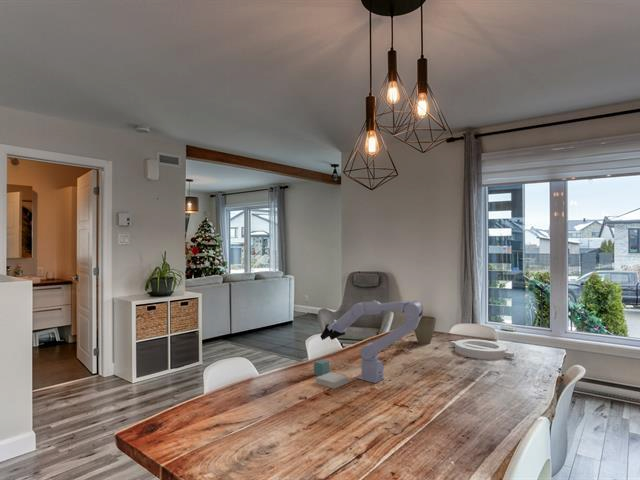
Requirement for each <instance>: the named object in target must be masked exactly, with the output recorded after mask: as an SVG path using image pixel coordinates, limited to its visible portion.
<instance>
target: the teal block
mask: <svg viewBox="0 0 640 480" xmlns="http://www.w3.org/2000/svg"><path fill="white" fill-rule="evenodd" d="M313 365H314V366H313V375H314V376H317V377H319V376H322V375H324V374H327V373H330V361H328V360H325V359H319V360H316V361H314V363H313Z"/></svg>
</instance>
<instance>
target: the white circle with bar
mask: <svg viewBox="0 0 640 480" xmlns="http://www.w3.org/2000/svg"><path fill="white" fill-rule="evenodd" d="M450 347H454V351H455V353H456V354H459V355H461V356H464V357H468V358H471V359H480V360H502V358H503V359H505V357H506V358H508V359H513V358H515V353H514V352H513V351H508V346H507V345H505V344H503V343H500V342H496V341H492V340H491V341H490V340H485V339H484V340H483V339H473V338H472V339H459V340H458V339H457V340H452V341H450Z"/></svg>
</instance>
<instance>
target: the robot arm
mask: <svg viewBox="0 0 640 480" xmlns="http://www.w3.org/2000/svg"><path fill="white" fill-rule="evenodd" d="M382 311H399V312H400V313H401V314H404V318H405V319H404V323H403V324H402V325H400V326H399V327H397V328H395V329H394V330H392V331H390V332H389V333H387V334H385V335H384V336H382V337H380V338H379V339H377V340H375V341H369V342H368V343H367V344H366V345H363V346H361V348H360V350H359V355H360V357H361V375H360V376H357V379H358V380H362V381H366V382H370V383H374V384H376V383H378V382H380V381H382V380H384V379H385V377H384V363H383V361H381V360H379V359H378V354H379V353H380V352H381V351H382V350H384V349H385V348H387V347H389V346H390V345H392V344H393V343H395V342H397V341H398V340H400V339H402V338H404V337H406V336H408V335H409V334H410V333H412V332H413V331H414V330H415V329H416V328H417V326H418V324H419V321H420V319H421V317H422V316H424V306H423V303H421V302H420V301H417V300H413V301H411V300H399V301H391V302H384V303H381V302H380V301H379V300H376V299H372V300H371V301H367V302H366V300H365V301H361V302H358V303H355V304H353V305H352V306H351V308H350V309H348V310H346V312H345V313H344V314H342V315H341V316H340V317H339V318H338V319H337V320H336V319H333V323H331V324H329V323H326V325H325V327H324V330H323V331H322V333H321V334H320V339H321V340H322V341H323V340H326V339H327V338H330V340H332V341H333V340H335V339H337V338H338V337H341V336H345V335H346V331H347V330H348V329H349V327H350V326H351V325H353V324H354V323H355V322H356V321H357V320H358V319H359V318H360V317H361V316H364V315H365V316H369V315H371V316H373V315H379V314H381V313H382ZM414 332H415V331H414Z"/></svg>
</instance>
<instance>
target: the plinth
mask: <svg viewBox="0 0 640 480" xmlns="http://www.w3.org/2000/svg"><path fill="white" fill-rule="evenodd" d="M348 383H349V376H346V375H342V374H338V373H334V372H330V371H329V373H327V374H324V375H322V376H317V377H315V384H317V385H321V386H324V387H327V388H331V389H337V388H339V387H341V386H344V385H346V384H348Z"/></svg>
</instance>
